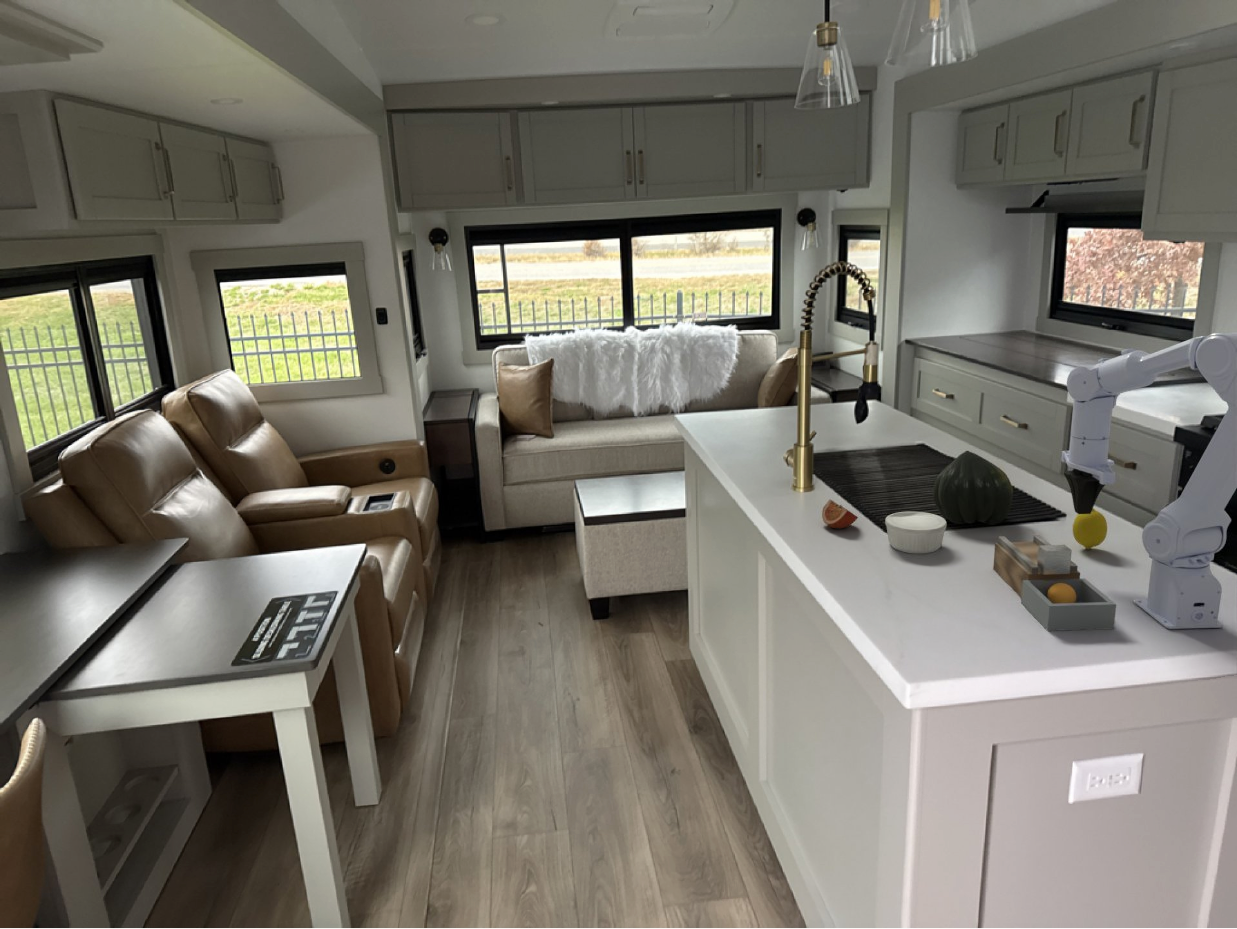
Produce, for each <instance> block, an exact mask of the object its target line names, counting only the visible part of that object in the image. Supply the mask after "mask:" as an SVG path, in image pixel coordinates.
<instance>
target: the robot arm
mask: <svg viewBox="0 0 1237 929" xmlns="http://www.w3.org/2000/svg"><path fill="white" fill-rule="evenodd" d="M1188 367H1190V369H1191V370H1193V371H1195V370H1199V372H1200V373H1201V374H1200V375H1202V376H1203V378H1204V379H1205V380H1206V381H1207V382H1208V384H1209V385H1210V386H1211V388H1212V389H1213V390H1214V391H1215V393H1216V394H1217V396H1218V397H1219V398H1220V399H1221V400H1222V401H1223V402H1226V404H1227V406H1228V408H1227V410H1226V412H1225V414H1224V416H1223V418H1222V419H1221V422H1219V425H1218V427H1217V429H1216V431H1215V432H1214V434H1213V436H1212V438H1211V439H1210V442H1209V443H1208V445H1207V447H1206V449H1205V450H1204V452H1203V454H1202V455H1201V458H1200V460H1199V462H1198V463H1197V465H1196V467H1195V468H1194V471H1193V472H1192V474H1191V476H1190V478H1189V480H1188V481H1187V483H1186V485H1185V486H1184V489H1183V490H1182V492H1181V495H1179V497H1178V498H1177V499H1176V500H1174V501H1172V502H1171V503H1170V504H1168V505H1166V506H1165V507H1164V508H1162V509H1161V510H1160V511H1159V513H1158V514H1157V516H1156V517H1155V518H1154V519H1153V520H1151V521H1149V522H1147V523H1146V524H1145V526H1144V528H1143V530H1142V534H1141V540H1142V544H1143V547H1144V549H1145V551H1146V552H1147V554H1148V558H1149V559H1151V565H1150V573H1149V574H1150V575H1149V582H1148V592H1147V598H1141V599H1140V598H1138V599H1134V600H1133V602H1134V604H1135V605H1137V606H1138V607H1139V608H1140V609H1141V610H1143V611H1145V612H1146V613H1147V614H1148V615H1150V617H1152V618H1153V619H1154V620H1156V621H1157V622H1158V623H1160V624H1161V625H1162V626H1164V627H1165V628H1166V629H1168V630H1169V629H1170V630H1172V629H1173V630H1176V629H1177V630H1179V629H1181V630H1182V629H1211V628H1213V629H1214V628H1216V629H1217V628H1223V627H1224V624H1223V623H1222V622H1221V621H1219V613H1220V604H1221V600H1222V590H1223V589H1222V585H1221V582H1220V581H1219V580H1218V578H1217V577H1215V575H1214V574H1213V573H1212V570H1211V561H1214V559H1215V558H1214V557H1215V554H1216V553H1218V552H1220V551H1221V550H1222V549H1223V548H1224V547H1225V544H1226V541H1227V530H1228V527H1229V526H1230V524H1231V522H1232V518H1231V517H1230V515H1229V514H1228V513H1227V511H1226V510H1225V509H1226V507H1227V505H1228V504H1229V501H1230V500H1231V499H1232V496H1233V495H1234V494H1235V492H1236V489H1237V331H1235V332H1227V333H1226V332H1223V333H1221V332H1219V333H1211V334H1209V335H1205V336H1204V335H1203V336H1197V337H1193V338H1192V337H1191V338H1190V339H1188V340H1185V341H1182V342H1179V343H1177V344H1174V345H1171V346H1168V347H1166V348H1163V349H1160V350H1158V351H1156V352H1153V353H1148V352H1147V351H1144V350H1136V349H1135V348H1128V349H1127V348H1126V349H1124V350H1121V352H1120V355H1119V356H1116V357H1113V358H1108V357H1106V358H1101V359H1098V360H1097V363H1096V364H1094V365H1093V364H1091V365H1078V366H1077V367H1076V368H1073V369H1072V370H1071V371H1070V372H1069V374H1068V376H1067V377H1066V378H1067V379H1066V388H1067V392H1068V394H1069V395H1070V396H1071V398H1072V399H1073V406H1072V416H1071V428H1070V439H1069V440H1070V441H1069V448H1068V449H1069V450H1062V451H1061V458H1060V461H1061V462H1062V463H1063V464H1064V463H1065V464H1066V465H1067V467H1069V468H1072V470H1066V471H1065V470H1064V472H1063V475H1064V477H1065V478H1066V481H1067V483H1068V486H1069V488H1070V492H1071V498H1072V505H1073V509H1074V512H1075V513H1076V514H1077V515H1078V514H1091V512H1092V509H1094V506H1095V504H1096V502H1097V499H1098V497H1099V495H1100V493H1101V491H1102V490H1103V488H1104V487H1105V486H1107V485H1116V477H1117V476H1116V474H1117V472H1115V471H1113V469H1112V467H1114V465H1115V461H1114V460H1112V459H1110V458H1109V457H1108V456H1109V447H1110V437H1111V427H1112V419H1113V418H1112V417H1113V409H1115V406H1117V399H1118V397H1119V396H1120V395H1121V394H1123V393H1126V392H1131V391H1133V390H1138V389H1140V388H1145V387H1147V386H1148V387H1149V386H1150V385H1152V384H1154V382H1155V380H1156V379H1157V377H1158V375H1160V374H1163V373H1168V372H1171V371H1176V370H1180V369H1185V368H1188ZM1108 458H1109V459H1108Z"/></svg>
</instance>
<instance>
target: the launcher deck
mask: <svg viewBox="0 0 1237 929" xmlns="http://www.w3.org/2000/svg"><path fill="white" fill-rule="evenodd" d="M1032 538H1033V539H1032V540H1033V541H1015V542H1011V541H1010V540H1009V539H1008V538H1007V537H1006V536H1005V535H1004V536H998V538H997V542H994V553H993V555H994V556H993V568H992V570H993V571H994V572H995V573H996V574H997V575H998V576H1000V578H1001V579H1002V580H1003V581H1004V582H1005V583H1006V584H1007V585H1008V586H1009V587H1010V588H1011V590H1013V591H1014V592H1015V593H1016V594H1017V595H1018V596H1019V597H1020V598H1022V585H1023V580H1049V579H1081V572H1080V571H1079V570H1078V568H1079V566H1078V565H1077V564H1076V563H1075V562H1074V561H1072V560H1071V564H1070V574H1048V575H1043V574H1042V573H1041V572H1040V571H1039V567H1038V566H1037V563H1038V550H1039V546H1041V545H1052V544H1051V543H1050V542H1049V541H1047V540H1046V539H1045V538H1044V537H1042V536H1041V535H1040V534H1035V535H1033V537H1032Z"/></svg>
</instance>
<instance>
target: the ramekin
mask: <svg viewBox="0 0 1237 929" xmlns="http://www.w3.org/2000/svg"><path fill="white" fill-rule="evenodd" d="M884 524H885V526H886V530H887V531H886V532H887V537H888V538H887V539H888V543H889V544H890V545H891V547H892V548H893V549H895V550H897V551H900V552H904V553H907V554H917V555H918V554H921V555H922V554H930V553H933V552H935V551H936V552H937V550H939V549H940V548H941V546H942V545H943V544H942V543H943V541H944V540H943V539H944V535H945V530H946V528H947V521H946V518H945V517H942V516H940V515H937V514H933V513H929V512H923V511H901V512H895V513H892V514H889V515H887V516H886V517H885V521H884Z"/></svg>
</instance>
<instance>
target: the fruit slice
mask: <svg viewBox="0 0 1237 929" xmlns="http://www.w3.org/2000/svg"><path fill="white" fill-rule="evenodd" d="M821 512H822V513H821V517H822V521H823V523H824V524H825V525H827V526H828V527H830V528H833V529H836V528H839V529H845V528H847V527H849V526H851V525H852V524H854V523H855V522H856V521H857V520H858V518H859V517H858V515H855V514H854V513H853V512H851V511H850V510H848V509H847V508H846V507H843V505H842V504H839V503H836V502H835V501H834V500H833V499H828V501H827V502H826V503H825V505H824V506H823V507H822V511H821Z"/></svg>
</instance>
